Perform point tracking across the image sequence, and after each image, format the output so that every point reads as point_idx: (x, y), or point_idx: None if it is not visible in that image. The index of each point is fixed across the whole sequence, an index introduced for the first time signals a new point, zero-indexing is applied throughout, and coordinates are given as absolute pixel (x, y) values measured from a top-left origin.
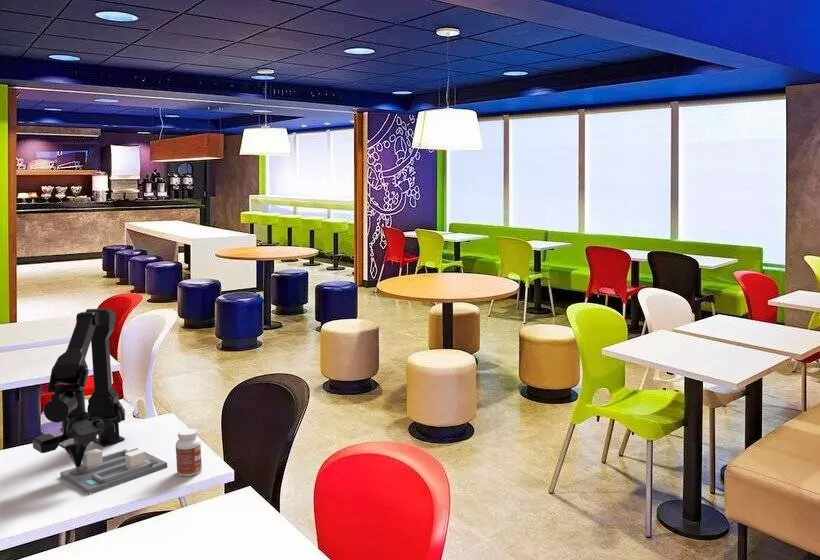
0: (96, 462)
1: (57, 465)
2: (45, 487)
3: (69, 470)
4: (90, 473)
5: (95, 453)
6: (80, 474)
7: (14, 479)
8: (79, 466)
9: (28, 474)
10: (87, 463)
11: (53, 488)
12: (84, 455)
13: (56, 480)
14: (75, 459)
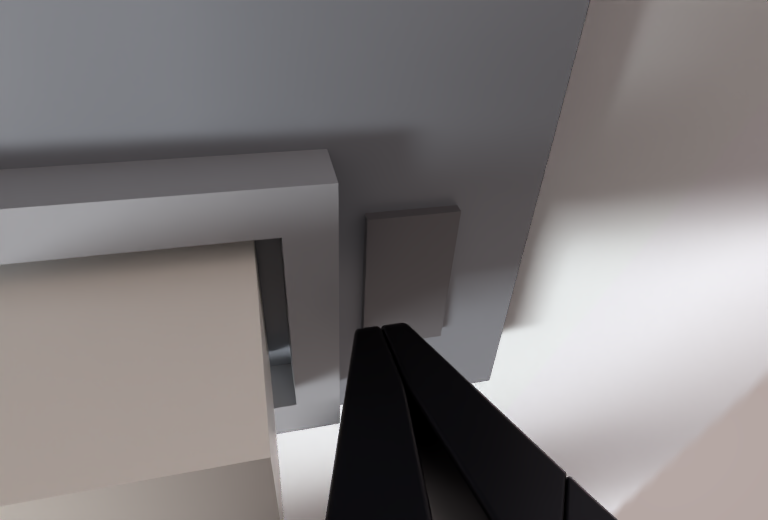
0: (63, 313)
1: None
2: (704, 202)
3: None
4: (252, 107)
5: (10, 505)
6: (387, 183)
7: (650, 449)
8: (366, 329)
9: None
10: (255, 317)
11: (705, 115)
12: (279, 507)
13: (543, 288)
14: (498, 428)
